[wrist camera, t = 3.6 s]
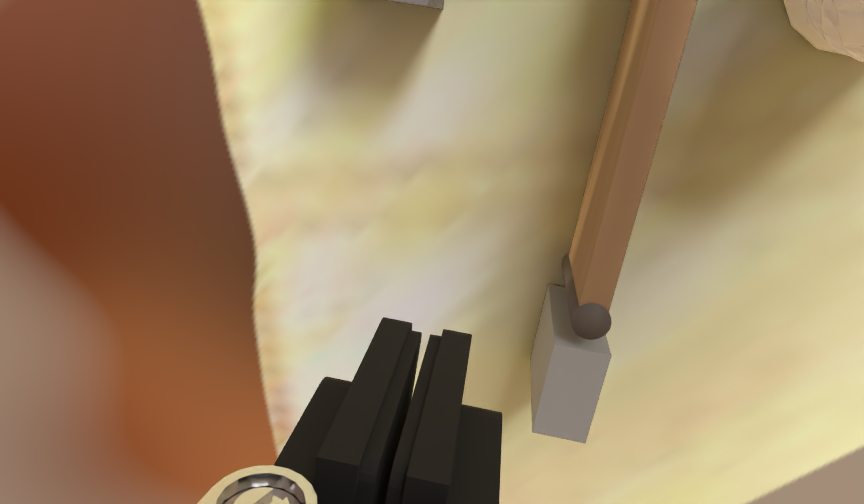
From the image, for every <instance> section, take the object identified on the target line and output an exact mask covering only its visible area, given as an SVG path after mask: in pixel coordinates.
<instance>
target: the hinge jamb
mask: <svg viewBox="0 0 864 504" xmlns="http://www.w3.org/2000/svg"><path fill="white" fill-rule="evenodd" d="M610 358H611V353H610V349H609V345H608V342H607V338H606V334H605V335H604V336H602V337H601V338H598V339H594V340H588V339H584V338H581V337H579V336H578V335H577V334H576V333H575V332H574V331H573V329H572V325H571V319H570V313H569V307H568V301H567V295H566V289H565V287H563V286H558V285H553V284H548V287H547V291H546V296H545V300H544V304H543V308H542V312H541V317H540V321H539V325H538V329H537V333H536V337H535V342H534V346H533V350H532V354H531V358H530V362H531V404H532V432H534V433H539V434H543V435H548V436H553V437H558V438H562V439H567V440H572V441H577V442H581V443H585V442H586V439H587V436H588V432H589V429H590V426H591V422H592V419H593V415H594V412H595V409H596V405H597V402H598V399H599V395H600V392H601V388H602V385H603V382H604V378H605V375H606V372H607V368H608V365H609V361H610Z"/></svg>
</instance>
